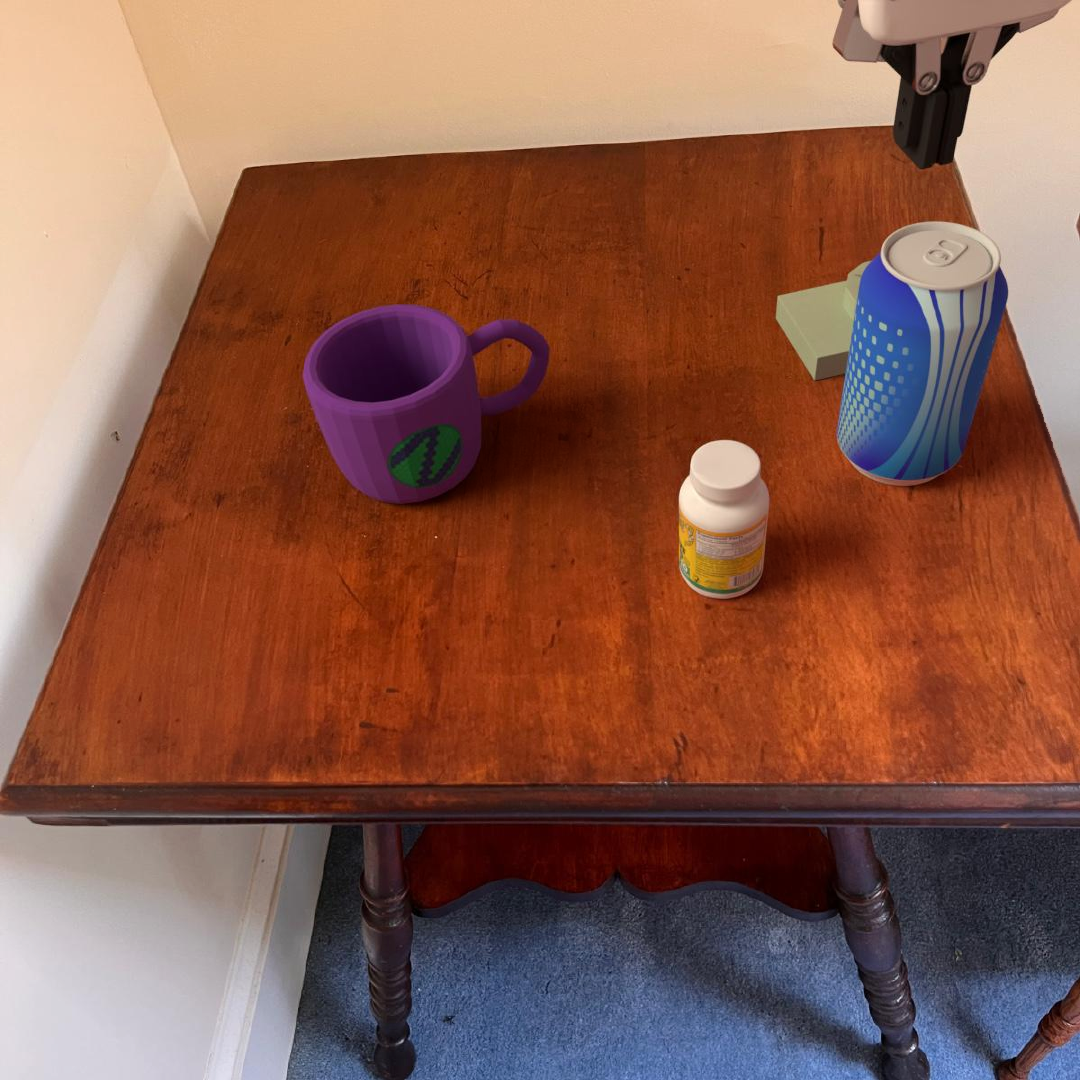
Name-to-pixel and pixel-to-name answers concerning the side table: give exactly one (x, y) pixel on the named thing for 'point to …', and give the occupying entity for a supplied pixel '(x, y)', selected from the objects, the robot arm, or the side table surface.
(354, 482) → the mug
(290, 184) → the side table surface
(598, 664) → the side table surface
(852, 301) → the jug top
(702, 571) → the supplement bottle
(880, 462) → the beer can
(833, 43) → the robot arm
